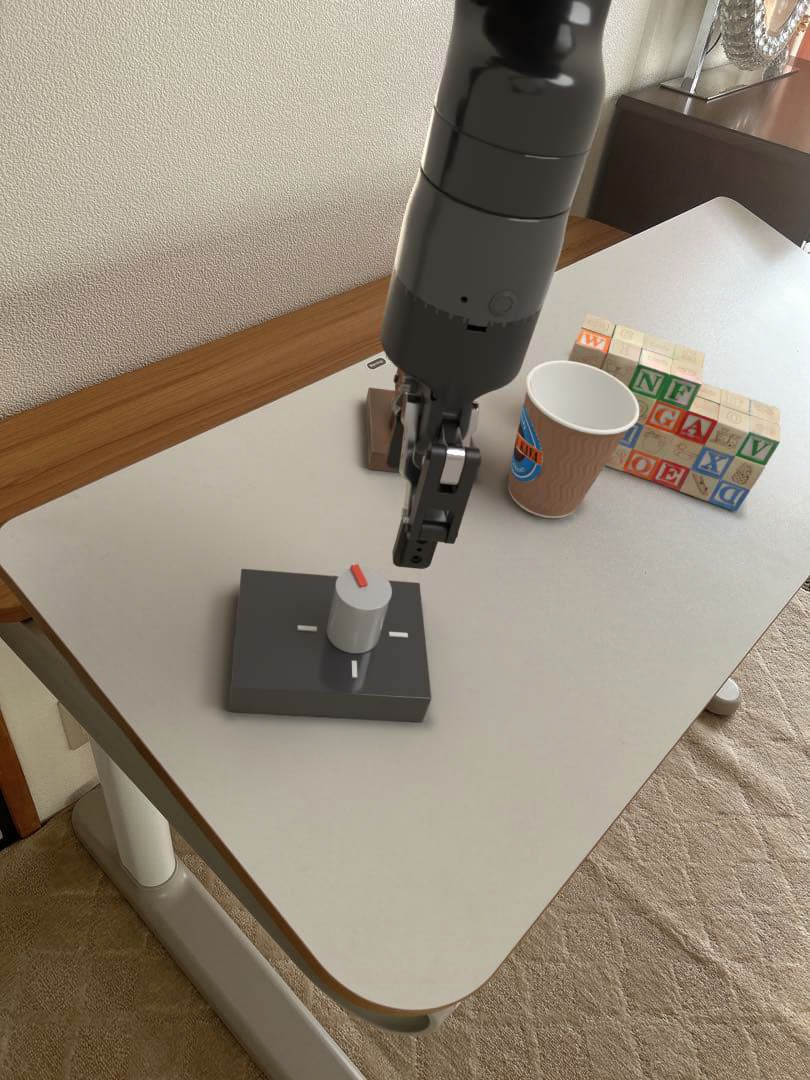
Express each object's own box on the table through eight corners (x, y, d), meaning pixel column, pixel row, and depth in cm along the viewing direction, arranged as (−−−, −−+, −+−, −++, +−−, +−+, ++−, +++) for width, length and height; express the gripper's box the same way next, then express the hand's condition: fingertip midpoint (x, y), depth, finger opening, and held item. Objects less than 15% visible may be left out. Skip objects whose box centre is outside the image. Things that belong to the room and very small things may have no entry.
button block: (368, 469, 83) (375, 436, 80) (365, 404, 90) (371, 372, 87) (471, 480, 85) (481, 448, 82) (459, 415, 92) (469, 384, 89)
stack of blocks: (739, 478, 94) (797, 383, 85) (736, 514, 89) (797, 418, 81) (548, 409, 96) (586, 310, 87) (536, 441, 92) (575, 340, 83)
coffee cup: (483, 454, 88) (517, 353, 80) (580, 464, 90) (623, 367, 82) (499, 527, 81) (537, 424, 73) (604, 536, 83) (653, 437, 75)
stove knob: (388, 647, 65) (401, 600, 61) (337, 658, 63) (348, 611, 60) (367, 606, 67) (379, 559, 64) (318, 616, 66) (328, 569, 62)
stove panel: (228, 712, 62) (231, 686, 60) (238, 593, 70) (241, 566, 68) (423, 722, 65) (432, 697, 63) (412, 606, 72) (420, 581, 70)
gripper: (388, 194, 47) (343, 431, 58) (403, 345, 37) (345, 595, 48) (523, 217, 48) (454, 444, 60) (573, 368, 38) (478, 607, 50)
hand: (405, 512), depth 54 cm, fingers open, 8 cm apart
